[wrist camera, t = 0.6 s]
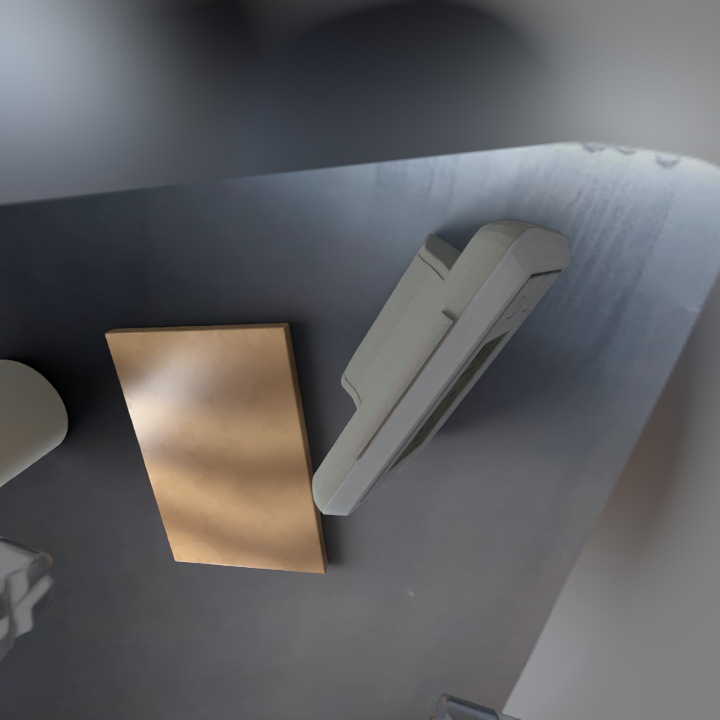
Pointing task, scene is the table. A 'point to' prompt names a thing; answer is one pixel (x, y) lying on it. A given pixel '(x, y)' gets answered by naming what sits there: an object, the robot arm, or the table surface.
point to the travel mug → (27, 418)
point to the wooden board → (224, 442)
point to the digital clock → (433, 350)
